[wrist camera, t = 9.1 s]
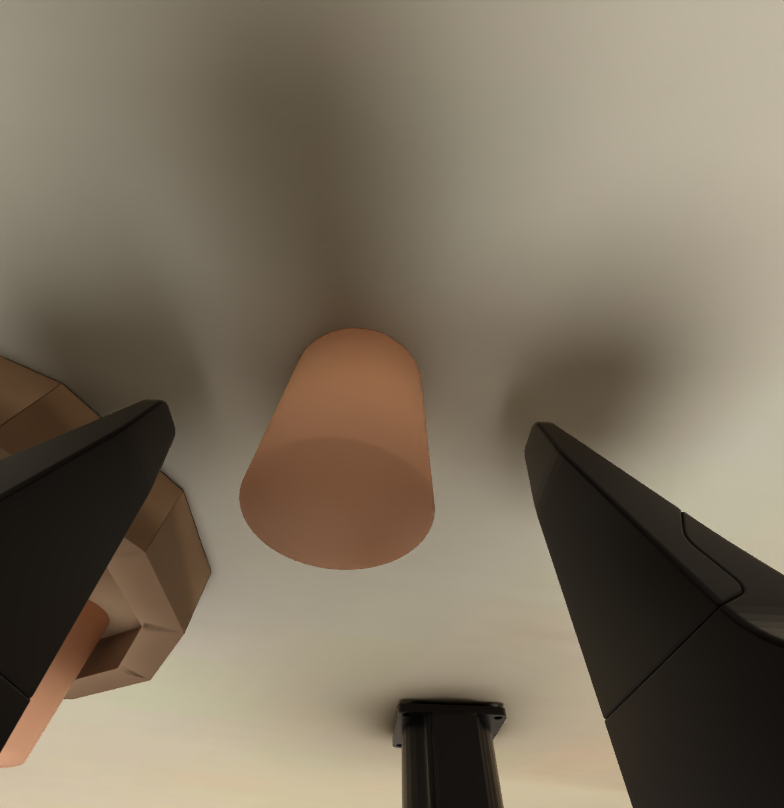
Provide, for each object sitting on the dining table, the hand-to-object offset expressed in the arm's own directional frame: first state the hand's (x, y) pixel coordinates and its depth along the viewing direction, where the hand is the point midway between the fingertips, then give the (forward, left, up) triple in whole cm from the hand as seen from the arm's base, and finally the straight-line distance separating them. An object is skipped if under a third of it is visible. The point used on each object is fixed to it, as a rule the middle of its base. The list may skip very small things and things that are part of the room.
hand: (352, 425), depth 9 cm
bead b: (0, 0, -2) cm, 2 cm away
